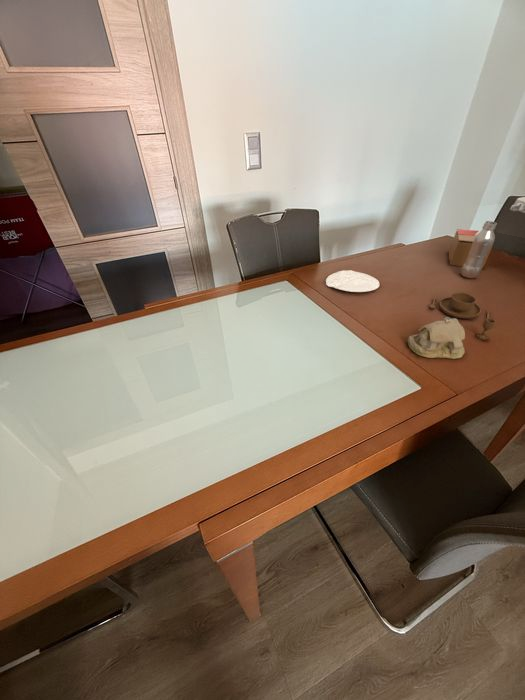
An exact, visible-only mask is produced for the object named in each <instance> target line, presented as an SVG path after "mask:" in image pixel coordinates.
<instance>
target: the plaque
mask: <svg viewBox="0 0 525 700" xmlns="http://www.w3.org/2000/svg"><path fill="white" fill-rule="evenodd" d="M325 285H326V286H327V287H330V288H334V289H336V290H340V291H345V292H351V293H366V292H371V291H375V290H377V289H378V288H379V287H380V281H379V280H378V279H377V278H375V277H374V276H372V275H370V274H367V273H364V272H361V271H355V270H351V269H350V270H339V271H336V272H334V273H331V274H330V275H328V276H327V277H326V279H325Z"/></svg>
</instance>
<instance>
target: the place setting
mask: <svg viewBox="0 0 525 700" xmlns="http://www.w3.org/2000/svg"><path fill="white" fill-rule="evenodd" d="M476 302H477V298H476V297H475V296H473V295H471V294H470V293H466V292H453V293H452V294H451V296H448V297H444V298H441V300H440V301H439V304H438V305H439V309H440V311H441V312H443V313H444V314H446V315H448V316H449V317H452V318H456V319H461V320H463V319H464V320H470V319H475V318H477V317H478V316H480V315H481V313H482V308H481V306H480V305H479V304H477V303H476ZM435 303H436V298H435V297H434V298H433V300H432V303H431V304H430V305H429V308H430V309H432V310H433V309H436V308H437V306H436V304H435ZM486 312H487V313H486V314H487V315H486V318H485V319H484V321H483V324H482V328H483V330H482V331H481V333H477V334H476V338H477V339H479V340H480V341H486V340H488V339H489V338H488V336H487V332H488V331H489V330H490V331H491V330H492V329H493V327H494V326H495V324H496V322H497V321H496V319H494V318H491V317H490V311H489V310H487V311H486Z"/></svg>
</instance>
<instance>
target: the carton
mask: <svg viewBox="0 0 525 700" xmlns="http://www.w3.org/2000/svg"><path fill="white" fill-rule="evenodd" d="M473 239H474V236H471V235H458V233H457V230H456V231H455V233H454V236H453V239H452V242H451V244H450V247H449V250H448V260H449V265H451V266H458V267H462V266H463V265H464V263H465V261H466V259H467V257H468V255H469V253H470V250H471V247H472V243H473ZM493 246H494V242H493V244H492V245H491V247H490V248H489V250H488V252H487V254H486V256H485V259H484V261H483V264H482V269H483V268H484V266H485V264H486V262H487V260H488V257H489V255H490V254H491V251H492V248H493Z"/></svg>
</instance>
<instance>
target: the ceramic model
mask: <svg viewBox="0 0 525 700" xmlns="http://www.w3.org/2000/svg"><path fill="white" fill-rule="evenodd" d="M418 332H419V333H417V334H412V335H409V336H408V338H407V345H408V347H409V349H410V350H411V351H412V352H414V353H415V354H417V355H418V356H420V357H424V358H429V359H435V358H442V359H446V358H447V359H461V358H462V357H463V356H464V354H465V353H466V351H465V348H464V344H463V341H464V340H465V339H466V333H465V332H466V331H465V328H464V327H463V325H461V323H460V322H459V320H458V318H455V317H452V318H451V317H450V316H446V317H444V318H443V320H434V321H433V322H430V323H428V324H425V325H422V326H420V328H419V329H418Z"/></svg>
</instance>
